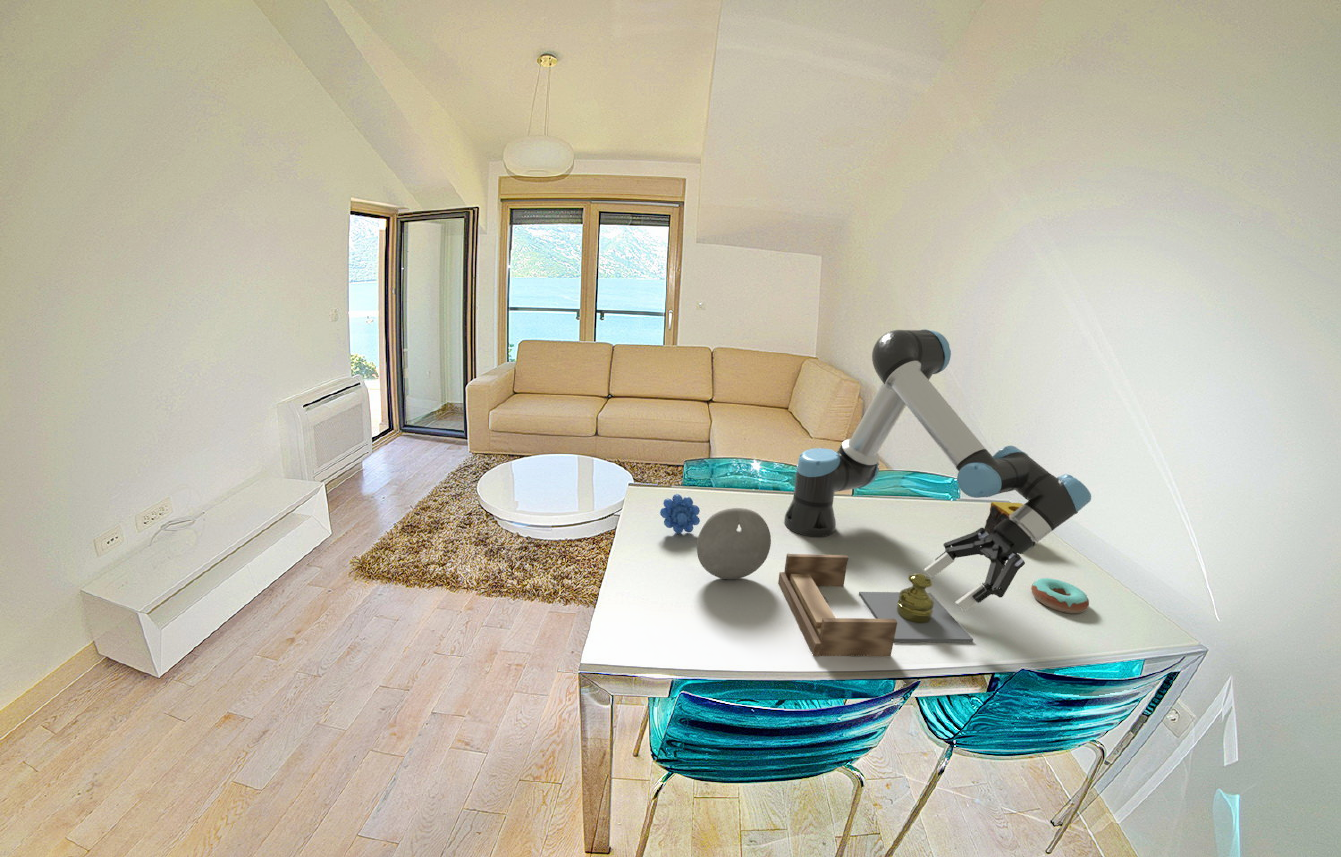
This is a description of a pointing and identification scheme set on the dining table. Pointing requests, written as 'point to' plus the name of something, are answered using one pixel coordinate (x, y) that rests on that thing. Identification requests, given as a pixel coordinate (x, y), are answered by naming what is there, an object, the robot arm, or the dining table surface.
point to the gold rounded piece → (916, 599)
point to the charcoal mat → (934, 630)
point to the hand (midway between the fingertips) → (942, 589)
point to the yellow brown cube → (1000, 514)
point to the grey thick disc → (733, 543)
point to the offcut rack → (818, 618)
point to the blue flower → (680, 513)
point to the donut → (1060, 595)
